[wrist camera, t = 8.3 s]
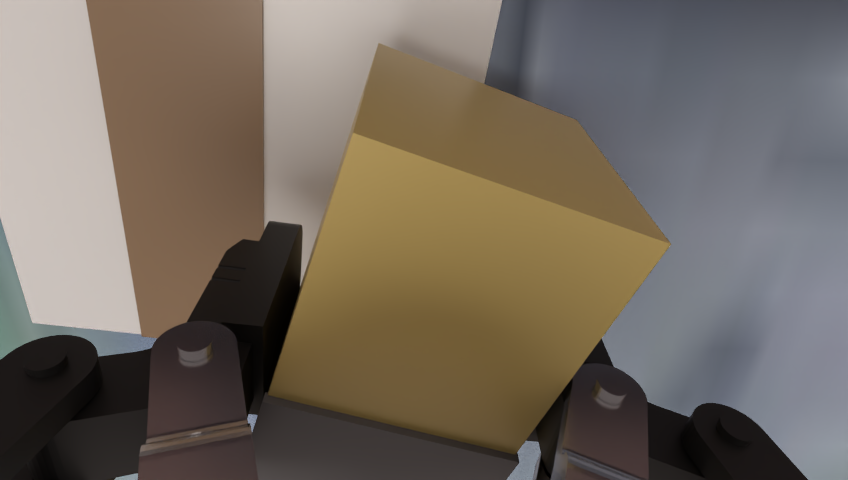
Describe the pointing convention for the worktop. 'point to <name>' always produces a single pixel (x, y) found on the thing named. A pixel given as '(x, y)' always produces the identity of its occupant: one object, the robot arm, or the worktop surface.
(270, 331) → the robot arm
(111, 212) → the floor panel
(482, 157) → the block
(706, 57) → the worktop surface
